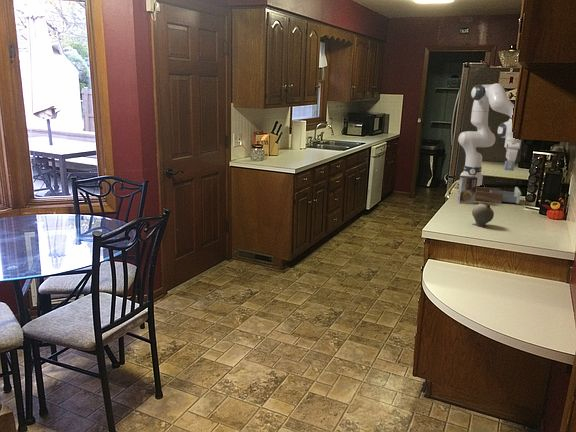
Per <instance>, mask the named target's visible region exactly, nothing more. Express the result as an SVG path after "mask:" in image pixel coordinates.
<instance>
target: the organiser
mask: <svg viewBox="0 0 576 432" xmlns="http://www.w3.org/2000/svg"><path fill="white" fill-rule="evenodd" d="M490 190H496V191H502V189H501V188H498V187H497V188H495V187H486V186H484V187H477V186H476V194H475V202H483V203H492V204H493V203H494V204H500V203H501V204H502V202H503V201H502V197H503V194H500V193H490Z"/></svg>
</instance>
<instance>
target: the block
mask: <svg viewBox="0 0 576 432" xmlns="http://www.w3.org/2000/svg"><path fill="white" fill-rule="evenodd" d="M515 163H516V161H515V162H513V163H512V167H511V168H508V164H509V161H507V160H505V161H504V166H503V167H504V168H503V169H504V171H510V172H511V171H514V169H515Z"/></svg>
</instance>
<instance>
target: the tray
mask: <svg viewBox="0 0 576 432" xmlns="http://www.w3.org/2000/svg"><path fill="white" fill-rule="evenodd" d="M490 193H500V194H503V197H502V202H505V203H513V204H519V203H520V199H521V196H522V192H521V190H520V188H519V187H518V186H515V187H514V191H505V190H501V191H496V190H490Z"/></svg>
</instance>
